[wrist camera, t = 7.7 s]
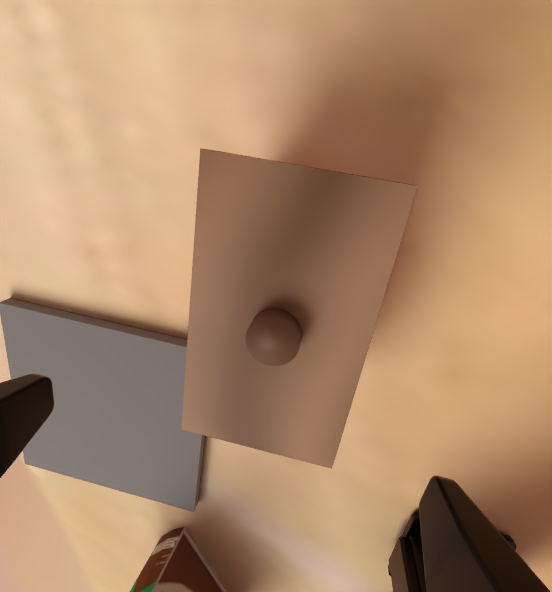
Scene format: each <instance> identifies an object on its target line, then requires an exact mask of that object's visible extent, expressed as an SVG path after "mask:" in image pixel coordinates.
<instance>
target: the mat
mask: <svg viewBox="0 0 552 592" xmlns="http://www.w3.org/2000/svg"><path fill="white" fill-rule="evenodd" d="M0 315H1V321H2V327H3V333H4V339H5V345H6V351H7V357H8V363H9V369H10V375H11V380H12V379H15V378H18V377H21V376H25V375H28V374H39V375H43V376H47V377H49V378H50V379H51V381H52V387H53V396H54V408H53V411H52V413H51V414H50V416H49V417H48V418H47V420H46V421H45V422H44V424H43V425H42V426H41V427H40V429H39V430H38V431H37V433H36V434H35V435H34V436H33V438H32V439H31V440H30V442H29V443H28V444H27V445H26V447H25V448H24V449H23V454H24V460H25V464H28V465H31V466H35V467H38V468H42V469H45V470H49V471H52V472H56V473H59V474H63V475H66V476H70V477H73V478H77V479H80V480H84V481H87V482H91V483H94V484H98V485H101V486H105V487H108V488H112V489H115V490H119V491H122V492H126V493H129V494H133V495H136V496H140V497H143V498H147V499H150V500H154V501H157V502H161V503H164V504H168V505H171V506H175V507H178V508H182V509H185V510H189V511H192V512H194V511H195V508H196V506H197V503H198V498H199V488H200V479H201V470H202V460H203V451H204V441H205V435H201V434H197V433H193V432H189V431H185V430H182V429H181V428H182V413H183V399H184V384H185V369H186V354H187V340H186V339H182V338H177V337H173V336H169V335H165V334H160V333H156V332H152V331H148V330H143V329H139V328H135V327H131V326H126V325H122V324H118V323H113V322H109V321H105V320H101V319H96V318H92V317H88V316H84V315H79V314H75V313H71V312H67V311H62V310H58V309H54V308H50V307H45V306H41V305H37V304H32V303H28V302H24V301H20V300H15V299H11V298H9V299H7V300H4V301H2V302H0Z"/></svg>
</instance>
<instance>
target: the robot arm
mask: <svg viewBox="0 0 552 592" xmlns="http://www.w3.org/2000/svg"><path fill="white" fill-rule="evenodd" d="M53 408H54V396H53V387H52V381H51V379H50V378H49V377H47V376H43V375H39V374H28V375H25V376H21V377H18V378H15V379H12V380H8V381H5V382H2V383H0V478H1V476H2V475H3V474H4V473H5V472H6V471H7V469H8V468H9V467H10V466H11V465H12V463H13V462H14V461H15V460H16V458H17V457H18V456H19V454H20V453H21V452H22V451H23V449H24V448H25V447H26V445H27V444H28V443H29V442H30V440H31V439H32V438H33V436H34V435H35V434H36V433H37V431H38V430H39V429H40V427H41V426H42V425H43V424H44V422H45V421H46V420H47V418H48V417H49V416H50V414H51V413H52V411H53ZM515 550H516V545H515V542H514V540H513V538H511V537H510V536H507V535H504V534H500V533H499V531H498V530H497V529H496V528H495V527H494V526H493V525H492V523H491V522H490V521H489V520H488V519H487V518H486V516H485V515H484V514H483V513H482V512H481V511H480V509H479V508H478V507H477V506H476V505H475V504H474V502H473V501H472V500H471V499H470V498H469V497H468V496H467V494H466V493H465V492H464V491H463V490H462V489H461V487H460V486H459V485H458V484H457V483H456V482H455V481H454V480H451V479H448V478H444V477H440V476H433V477H432V478H431V479H430V481H429V483H428V485H427V488H426V490H425V492H424V494H423V496H422V498H421V501H420V505H419V512H416V513H414V514H413V515H412V516H411V518H410V520H409V522H408V524H407V527H406V529H405V531H404V533H403V535H402V536H401V537H400V538H399V539H398V541H397V543H396V546H395V548H394V550H393V552H392V554H391V556H390V559H389V565H388V572H389V575H390V576H391V578H392V586H393V592H550V591H549V589H548V588H547V587H546V586H545V585H544V584H543V582H542V581H541V580H540V579H539V578H538V577H537V576H536V574H535V573H534V572H533V571H532V570H531V569H530V567H529V566H528V565H527V564H526V563H525V562H524V560H523V559H522V558H521V557H520V556H519V555H518V553H517V552H516V551H515Z"/></svg>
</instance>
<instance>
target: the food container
mask: <svg viewBox="0 0 552 592" xmlns="http://www.w3.org/2000/svg"><path fill="white" fill-rule="evenodd" d="M130 592H227V591H226V590H225V588H224V587H223V585H222V584H221V582H220V581H219V579H218V578H217V576H216V575H215V573H214V572H213V570H212V569H211V567H210V566H209V564H208V563H207V561H206V560H205V558H204V557H203V555H202V554H201V552H200V551H199V549H198V548H197V546H196V545H195V543H194V541H193V540H192V538H191V537H190V535H189V534H188V532H187V531H186V529H185V528H184V527H183V528H179V529H174V530H172V531H170V532H169V533H167V534H165V535H164V536H162V537H161V539H160V541H159V542H158V544H157V545H156V547H155V549H154V551H153V552H152V554H151V556H150V557H149V559H148V561H147V563H146V564H145V566H144V568H143V570H142V571H141V573H140V575H139V577H138V578H137V580H136V582H135V583H134V585H133V587H132V589H131V590H130Z"/></svg>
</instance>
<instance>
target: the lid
mask: <svg viewBox="0 0 552 592" xmlns="http://www.w3.org/2000/svg"><path fill="white" fill-rule="evenodd" d="M417 187H418V186H415V185H410V184H405V183H399V182H393V181H387V180H382V179H376V178H370V177H364V176H358V175H353V174H347V173H341V172H335V171H330V170H324V169H318V168H312V167H307V166H301V165H295V164H289V163H283V162H278V161H272V160H266V159H260V158H255V157H249V156H243V155H237V154H231V153H226V152H220V151H214V150H207V149H201V148H200V163H199V178H198V193H197V207H196V222H195V237H194V251H193V266H192V281H191V296H190V310H189V325H188V340H187V354H186V369H185V384H184V399H183V413H182V428H181V429H182V430H185V431H189V432H193V433H197V434H201V435H205V436H209V437H212V438H216V439H220V440H224V441H228V442H232V443H235V444H239V445H243V446H247V447H251V448H255V449H259V450H262V451H266V452H270V453H274V454H278V455H282V456H286V457H289V458H293V459H297V460H301V461H305V462H309V463H313V464H316V465H320V466H324V467H328V468H332V466H333V463H334V460H335V456H336V453H337V450H338V447H339V443H340V440H341V437H342V433H343V430H344V427H345V424H346V420H347V417H348V414H349V410H350V407H351V404H352V401H353V397H354V394H355V391H356V387H357V384H358V381H359V378H360V374H361V371H362V368H363V365H364V361H365V358H366V355H367V351H368V348H369V345H370V342H371V338H372V335H373V332H374V328H375V325H376V322H377V319H378V315H379V312H380V309H381V305H382V302H383V299H384V296H385V292H386V289H387V286H388V282H389V279H390V276H391V273H392V269H393V266H394V263H395V260H396V256H397V253H398V250H399V246H400V243H401V240H402V237H403V233H404V230H405V227H406V223H407V220H408V217H409V214H410V210H411V207H412V204H413V200H414V197H415V194H416V191H417Z"/></svg>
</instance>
